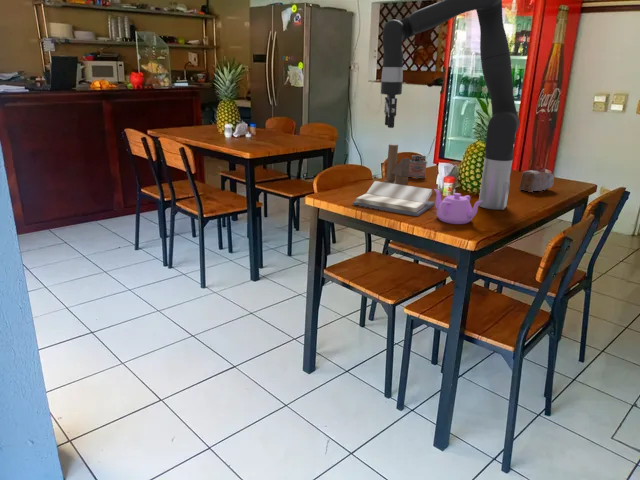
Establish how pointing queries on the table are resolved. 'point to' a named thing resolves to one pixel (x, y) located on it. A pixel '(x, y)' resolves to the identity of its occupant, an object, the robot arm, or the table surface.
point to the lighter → (417, 167)
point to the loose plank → (400, 192)
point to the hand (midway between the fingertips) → (389, 126)
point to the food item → (536, 179)
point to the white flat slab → (390, 202)
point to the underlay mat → (426, 207)
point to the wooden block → (397, 167)
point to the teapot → (455, 208)
